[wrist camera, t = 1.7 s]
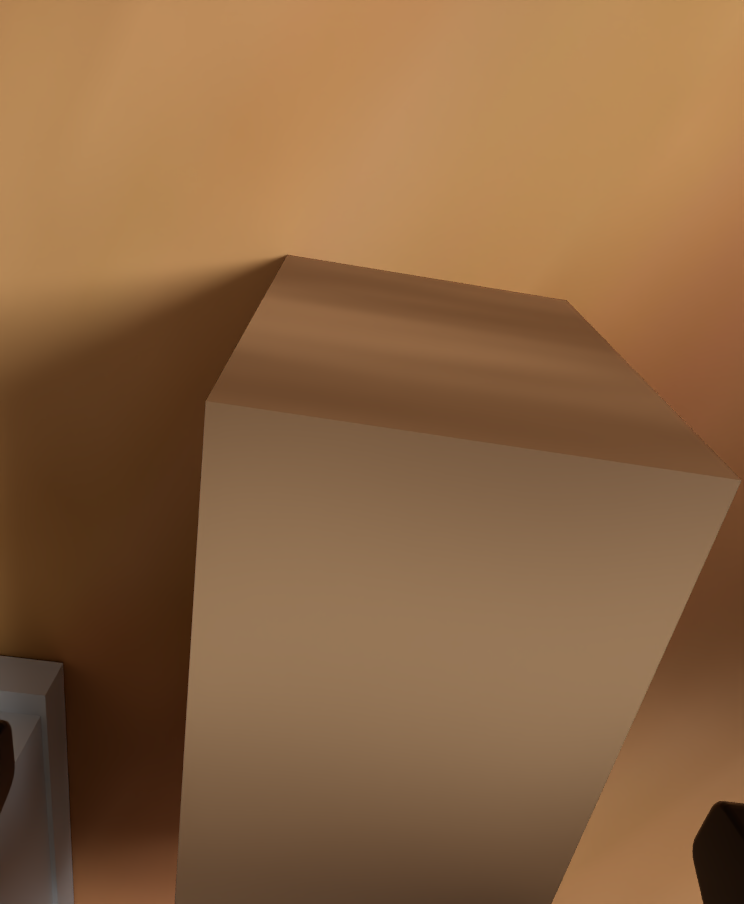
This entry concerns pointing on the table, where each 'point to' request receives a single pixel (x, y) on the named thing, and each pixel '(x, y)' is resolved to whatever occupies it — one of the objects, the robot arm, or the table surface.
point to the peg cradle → (36, 786)
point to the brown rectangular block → (424, 591)
